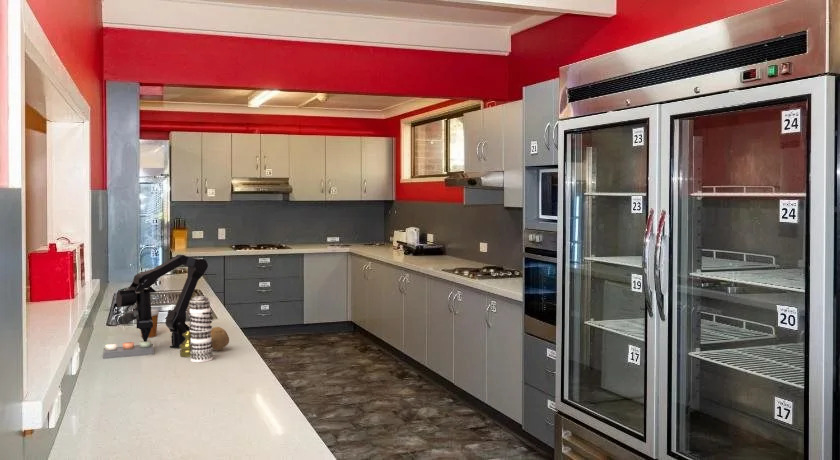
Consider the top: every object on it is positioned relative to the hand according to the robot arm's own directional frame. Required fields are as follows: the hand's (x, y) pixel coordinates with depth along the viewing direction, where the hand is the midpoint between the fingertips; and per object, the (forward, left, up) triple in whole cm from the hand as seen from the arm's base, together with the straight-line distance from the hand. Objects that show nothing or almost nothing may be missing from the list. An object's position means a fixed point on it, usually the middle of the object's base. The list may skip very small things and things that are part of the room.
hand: (145, 341), depth 316 cm
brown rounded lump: (-25, -14, -5) cm, 30 cm away
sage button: (0, 0, -2) cm, 2 cm away
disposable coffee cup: (+25, -26, -5) cm, 36 cm away
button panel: (+5, +5, -5) cm, 8 cm away
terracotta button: (+5, +5, -2) cm, 7 cm away
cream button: (+9, +10, -2) cm, 13 cm away
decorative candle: (-30, +1, -5) cm, 31 cm away
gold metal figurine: (-20, -3, -5) cm, 21 cm away
